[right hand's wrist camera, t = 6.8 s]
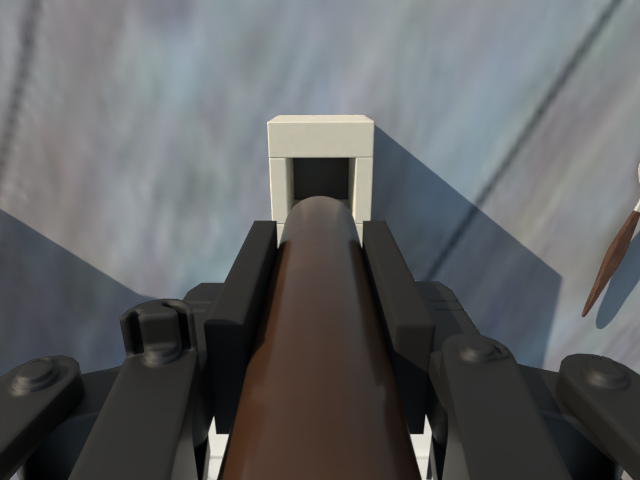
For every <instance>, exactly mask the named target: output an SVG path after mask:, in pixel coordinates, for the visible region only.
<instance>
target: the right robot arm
mask: <svg viewBox="0 0 640 480" xmlns="http://www.w3.org/2000/svg"><path fill="white" fill-rule="evenodd" d="M277 250H278V240H277V221H254V223H253V225H252V227H251V229H250V231H249V233H248V235H247V237H246V239H245V241H244V243H243V245H242V247H241V249H240V251H239V254H238V256H237V258H236V260H235V262H234V264H233V266H232V268H231V270H230V272H229V274H228V276H227V278H226V280H225V282H224V283H201V284H199V285H197V286H196V287H194V288H193V289H191V290H190V291H188V293H187V294H186V296H185V297H184V299H183V301H182V300H179V299H159V300H153V301H148V302H145V303H142V304H139V305H137V306H135V307H133V308H131V309H129V310H128V311H126V312H125V313H124V314H123V315H122V316H121V317H120V323H121V329H122V334H123V339H124V344H125V349H126V354H127V357H126V359H125V361H124V363H123V365H122V366H119V367H115V368H111V369H106V370H101V371H96V372H91V373H86V374H81V371H80V367H79V363H78V362H77V361H76V360H75V359H74V358H71V357H67V356H47V357H41V358H37V359H34V360H30V361H29V362H27V363H24V364H22V365H20V366H17V367H15V368H14V369H12V370H11V371H9V372H8V373H6V374H4V375H3V376H2V377H0V480H9V479H10V478H11V477H12V476H13V475H14V474H15V473H16V472H17V474H18V477H19V480H207V478H208V470H209V461H210V453H211V451H210V443H209V435H208V433H209V430H210V426H211V423H212V420H213V417H214V420H215V429H216V434H229V431H230V428H231V424H232V420H233V416H234V413H235V409H236V405H237V401H238V398H239V394H240V390H241V386H242V382H243V379H244V375H245V371H246V367H247V364H248V360H249V356H250V352H251V348H252V345H253V341H254V337H255V333H256V330H257V326H258V322H259V318H260V315H261V311H262V307H263V303H264V299H265V296H266V292H267V288H268V284H269V281H270V277H271V273H272V269H273V265H274V262H275V258H276V254H277ZM362 251H363V254H364V258H365V262H366V266H367V270H368V274H369V277H370V281H371V285H372V289H373V293H374V297H375V301H376V304H377V308H378V312H379V316H380V320H381V324H382V327H383V331H384V335H385V339H386V343H387V347H388V351H389V354H390V358H391V362H392V366H393V370H394V374H395V377H396V381H397V385H398V389H399V393H400V397H401V401H402V404H403V408H404V412H405V416H406V420H407V424H408V427H409V431H410V434H424V426H425V418H426V416H427V419H428V422H429V425H430V428H431V431H432V435H431V443H430V451H429V459H428V468H427V476H426V480H432V477H433V480H622V479H621V476H622V473H623V471H624V470H625V471H626V472H627V473H628V474H629V475H630V477H631V478H632V479H633V480H640V375H639V374H637V373H636V372H634V371H633V370H631V369H630V368H628V367H627V366H625V365H623V364H621V363H618V362H616V361H613V360H612V359H610V358H607V357H603V356H602V357H601V356H599V355H593V354H574V355H569V356H567V357H566V358H564V359H563V360H562V361H561V365H560V369H559V373H558V372H553V371H548V370H543V369H538V368H533V367H528V366H524V365H521V364H517V362H516V360H515V358H514V356H513V355H512V353H511V352H510V351H509V350H508V348H507V347H505V346H504V345H502V344H501V343H499V342H498V341H496V340H493V339H491V338H488V337H486V336H482V335H480V333H479V331H478V330H477V328H476V327H475V325H474V324H473V322H472V321H471V319H470V318H469V316H468V315H467V313H466V312H465V311H464V308H463V307H462V305H461V304H460V302H458V299H457V298H456V296H455V295H454V293H453V292H452V290H451V289H449V288H447V287H446V286H444V285H443V284H441V283H440V282H415V281H414V279H413V276H412V274H411V272H410V270H409V268H408V266H407V264H406V262H405V260H404V258H403V256H402V254H401V252H400V250H399V248H398V246H397V244H396V242H395V240H394V238H393V236H392V234H391V232H390V230H389V228H388V226H387V224H386V222H385V221H363V233H362Z"/></svg>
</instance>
